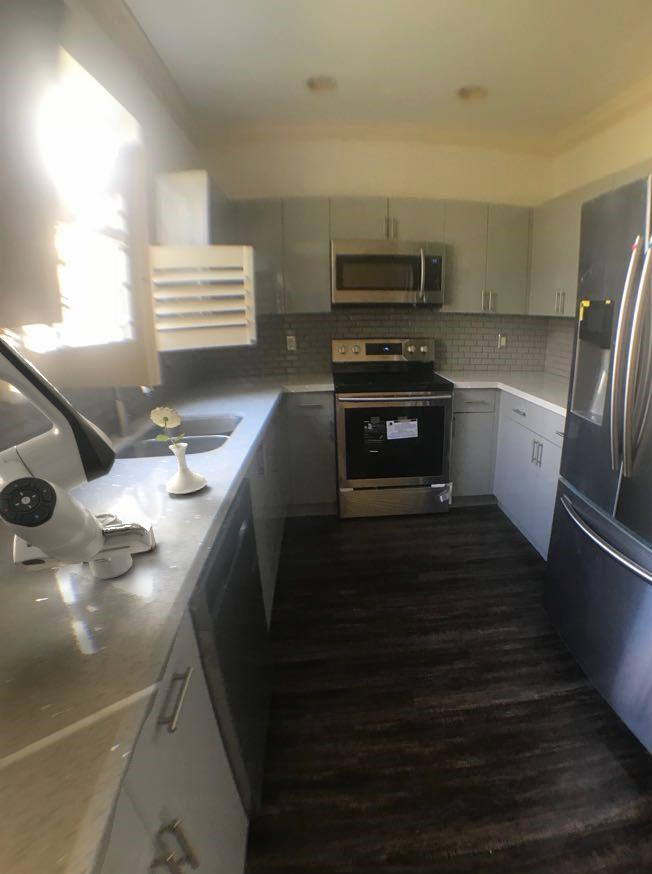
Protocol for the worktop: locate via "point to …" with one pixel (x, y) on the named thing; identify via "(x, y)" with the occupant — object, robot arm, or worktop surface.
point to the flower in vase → (177, 454)
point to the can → (117, 563)
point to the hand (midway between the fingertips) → (102, 558)
